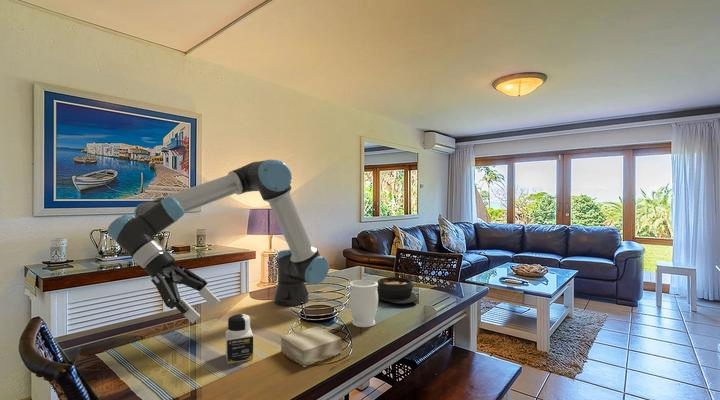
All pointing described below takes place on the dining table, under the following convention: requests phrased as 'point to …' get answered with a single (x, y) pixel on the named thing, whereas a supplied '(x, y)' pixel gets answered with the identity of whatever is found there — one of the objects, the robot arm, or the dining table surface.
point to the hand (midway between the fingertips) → (207, 311)
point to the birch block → (311, 345)
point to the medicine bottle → (239, 339)
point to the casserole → (396, 290)
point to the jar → (363, 302)
